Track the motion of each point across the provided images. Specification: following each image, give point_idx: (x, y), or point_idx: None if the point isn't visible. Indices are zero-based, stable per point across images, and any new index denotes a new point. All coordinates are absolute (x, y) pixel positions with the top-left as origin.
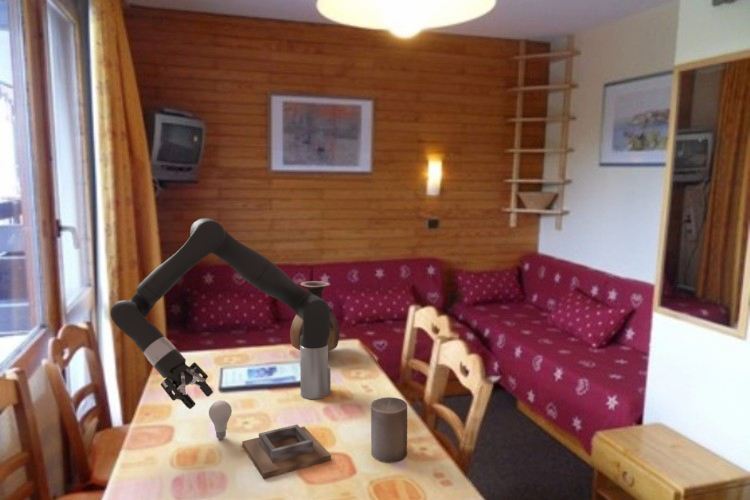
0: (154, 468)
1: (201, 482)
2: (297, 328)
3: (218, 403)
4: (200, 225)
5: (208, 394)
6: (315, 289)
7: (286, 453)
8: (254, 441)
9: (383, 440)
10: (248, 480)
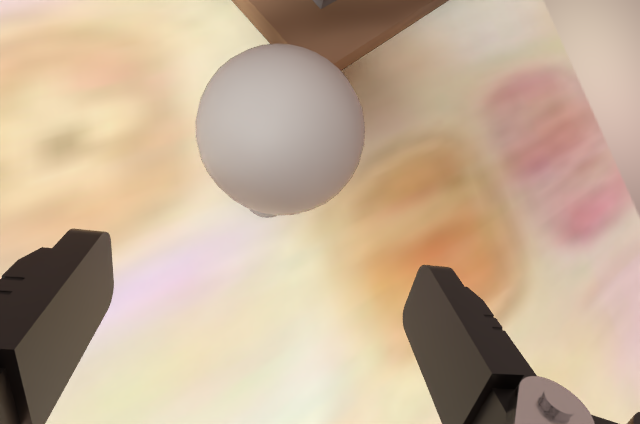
0: (559, 363)
1: (557, 144)
2: None
3: (323, 89)
4: None
5: (105, 281)
6: None
7: None
8: (305, 29)
9: None
10: (496, 18)
